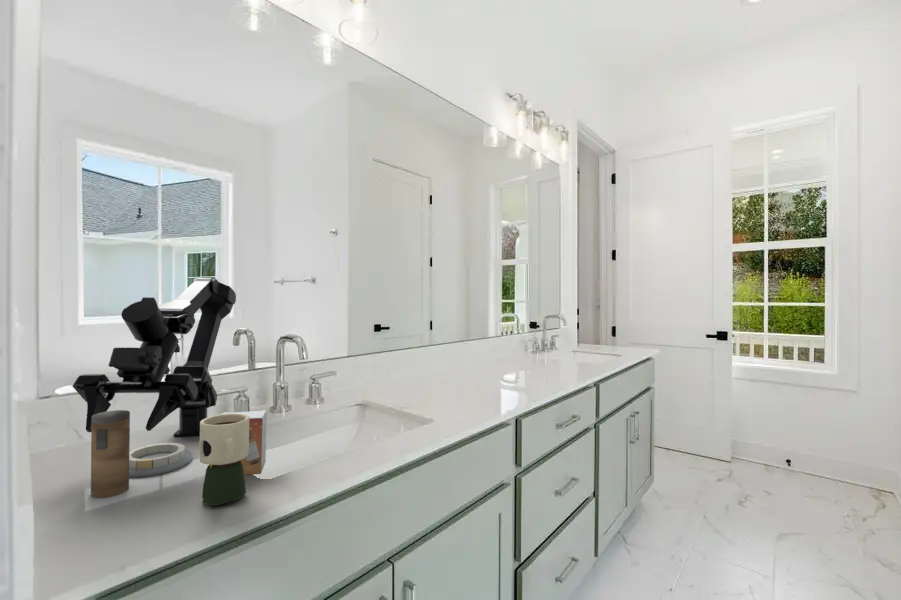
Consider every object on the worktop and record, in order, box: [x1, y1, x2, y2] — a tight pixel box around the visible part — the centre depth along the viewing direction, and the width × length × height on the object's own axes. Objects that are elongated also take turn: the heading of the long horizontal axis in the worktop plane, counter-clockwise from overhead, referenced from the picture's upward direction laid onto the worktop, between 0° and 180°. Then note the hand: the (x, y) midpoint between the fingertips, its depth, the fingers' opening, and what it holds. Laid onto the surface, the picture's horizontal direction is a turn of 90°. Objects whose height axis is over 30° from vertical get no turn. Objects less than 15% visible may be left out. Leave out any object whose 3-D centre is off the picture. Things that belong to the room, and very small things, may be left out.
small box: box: [220, 409, 268, 476], centre depth 81 cm, size 8×6×10 cm
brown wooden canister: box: [90, 409, 131, 499], centre depth 72 cm, size 6×5×13 cm
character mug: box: [198, 413, 249, 506], centre depth 70 cm, size 11×7×13 cm, turn 35°
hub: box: [129, 442, 193, 478], centre depth 83 cm, size 12×12×2 cm
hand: (118, 430), depth 74 cm, fingers open, 9 cm apart
